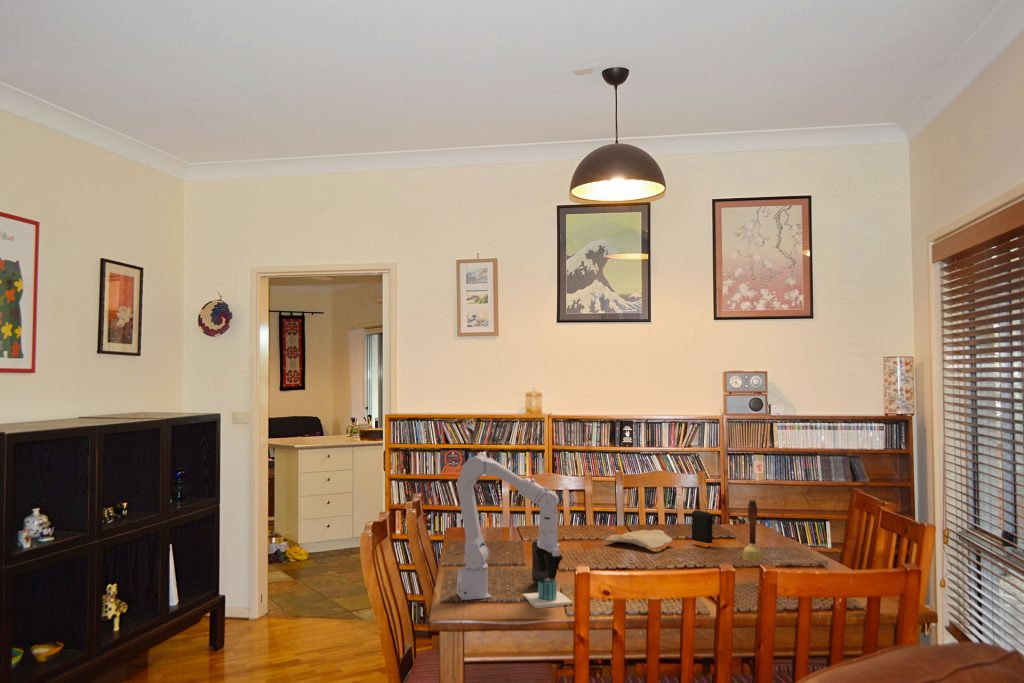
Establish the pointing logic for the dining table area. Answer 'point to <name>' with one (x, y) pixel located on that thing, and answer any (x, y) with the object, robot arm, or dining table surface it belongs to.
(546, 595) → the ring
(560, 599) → the white base with peg
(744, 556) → the handbell
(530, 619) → the dining table surface
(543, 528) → the robot arm
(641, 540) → the beige curved shard
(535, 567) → the camera lens
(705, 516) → the carrying case or bag
